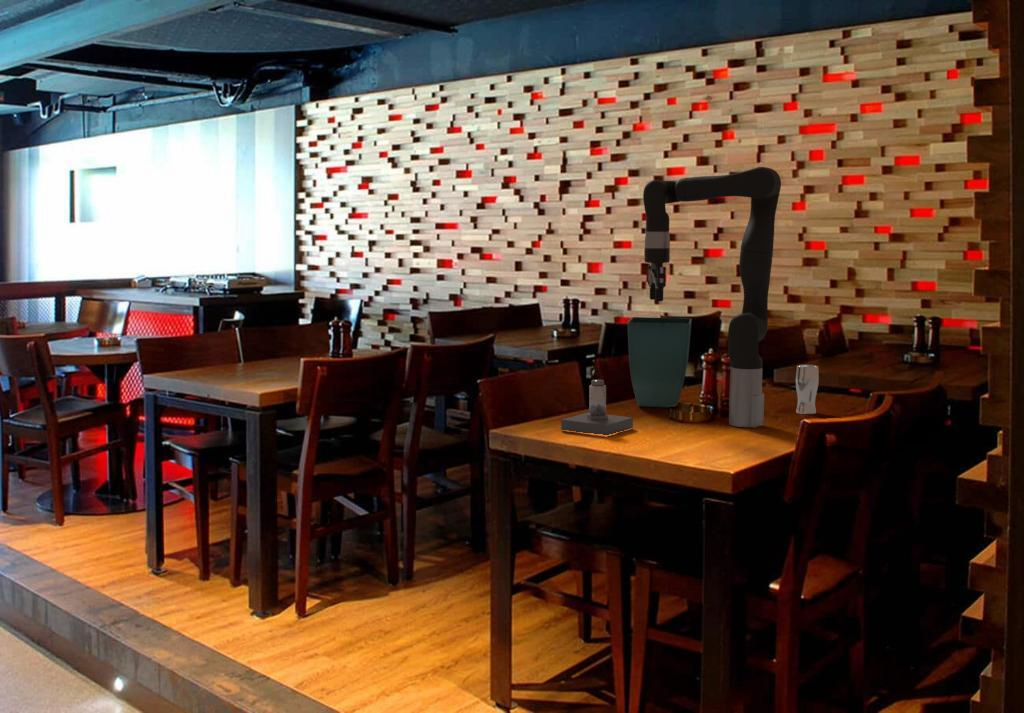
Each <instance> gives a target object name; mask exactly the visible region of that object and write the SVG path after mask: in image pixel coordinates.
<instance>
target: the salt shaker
mask: <svg viewBox="0 0 1024 713" xmlns="http://www.w3.org/2000/svg"><path fill="white" fill-rule="evenodd" d="M590 381H591V384H590V385H589V386H588V389H589V390H588V392H589V395H588V398H589V399H588V401H589V402H588V403H589V405H588V406H589V407H588V412H589V414H587V418H589V419H590V420H608V416H607V415H608V414H607V385H606V384H605V380H603V379H592V380H590Z"/></svg>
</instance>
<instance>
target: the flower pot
mask: <svg viewBox="0 0 1024 713" xmlns="http://www.w3.org/2000/svg"><path fill="white" fill-rule="evenodd" d="M692 320H693V319H692V318H685V317H682V318H681V317H650V316H649V317H648V316H640V317H638V316H633V317H631V318H630V319H629V320H628V321H627V341H628V342H627V343H628V345H627V347H628V365H629V371H630V372H629V373H630V380H631V386H632V388H633V389H632V390H633V393H634V397H635V400H636V403H637V406H638V407H644V408H645V407H648V408H669V407H670V406H672V405H675V404H677V405H678V404H679V401H680V398H681V394H682V391H683V387H684V382H685V377H686V373H687V368H688V362H689V353H690V345H691V343H690V342H691V334H692V333H691V331H692Z"/></svg>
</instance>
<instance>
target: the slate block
mask: <svg viewBox="0 0 1024 713" xmlns="http://www.w3.org/2000/svg"><path fill="white" fill-rule="evenodd" d="M587 414H589V411H588V412H585V413H581V414H577V415H573V416H570V417H566V418H562V419H561V420H560V422H561V425H560V431H561V430H569V431H576V432H583V433H594V434H603V435H609V434H613V433H616V432H620V431H624V430H627V429H630V428H633V429H634V417H630V416H623V415H616V414H615V415H613V414H606V415H607V416H608V420H590V419H589V418H587Z"/></svg>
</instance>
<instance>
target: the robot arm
mask: <svg viewBox="0 0 1024 713" xmlns="http://www.w3.org/2000/svg"><path fill="white" fill-rule="evenodd" d="M781 179H782V178H781V177H780V174H779V173H778V172H777V171H776V170H775V169H774V168H770V167H766V166H757V167H755V168H751V169H748V170H744V171H739V172H735V173H730V174H724V175H721V174H720V175H707V176H706V175H705V176H704V175H703V176H702V175H701V176H692V177H683V178H679V179H675V180H674V179H671V180H661V179H660V180H659V179H652V180H649V181H648V182H647V183H646V184H645V186H644V188H643V195H642V198H643V200H642V201H643V206H644V213H645V217H646V218H645V236H644V237H645V238H644V262H645V263H649V264H650V265H648V267H647V268H648V270H647V285H648V287H649V299H650V301H656V302H663V301H664V289H665V287H667V284H666V281H667V276H666V274H667V272H666V271H667V267H666V266H663V265H664V264H667V263H670V258H671V257H670V256H671V255H670V254H671V253H670V252H671V250H670V249H671V245H670V244H671V237H670V215H669V214H668V212H667V209H666V205H667V204H673V203H674V204H675V203H679V202H681V203H682V202H686V203H687V202H698V201H699V202H700V201H707V200H713V199H718V198H723V197H724V198H726V197H744V198H750V211H749V219H748V221H747V225H746V228H745V231H744V232H743V233H744V234H743V237H742V240H741V244H740V253H739V261H738V262H739V263H738V264H739V266H738V268H739V269H738V270H739V275H740V281H741V285H742V289H743V303H742V308H741V309H742V310H741V313H739V314H736V315H734V316H733V317H732V318H731V320H730V321H729V324H728V328H727V329H728V330H727V331H728V332H727V348H728V352H727V353H728V358H729V362H730V374H729V404H728V406H729V408H728V412H729V414H728V425H730V426H731V427H732V426H733V427H738V428H758V427H761V426H764V415H765V414H764V413H765V412H764V411H765V393H764V392H763V366H764V364H763V362H764V360H763V358H762V357H761V356H760V354H759V343H760V342H761V341H762V340H763V339H764V338H765V337H766V335H767V332H768V327H769V323H768V320H769V317H768V316H769V315H768V309H769V308H768V305H769V304H768V302H769V301H768V300H769V299H768V298H769V289H770V282H771V281H770V280H771V270H772V265H773V255H774V254H773V253H774V243H775V242H774V241H775V240H774V239H775V223H776V222H775V219H776V213H777V208H778V201H779V197H780V194H781V189H782V180H781Z"/></svg>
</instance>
